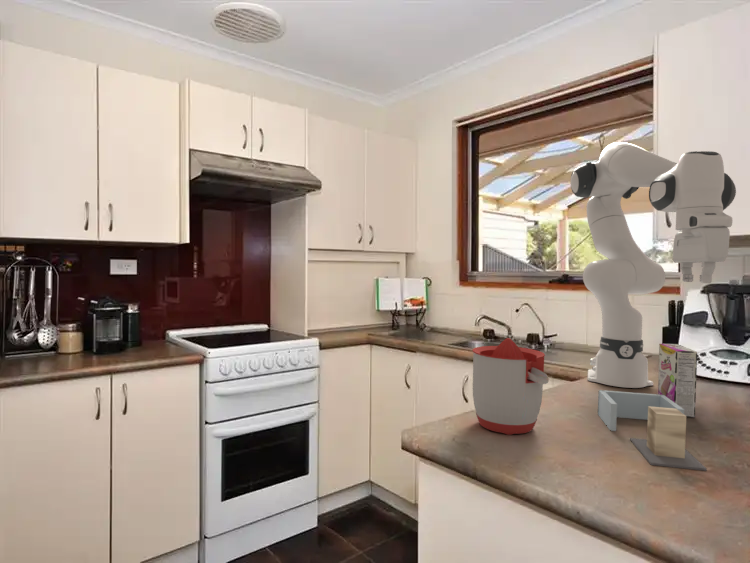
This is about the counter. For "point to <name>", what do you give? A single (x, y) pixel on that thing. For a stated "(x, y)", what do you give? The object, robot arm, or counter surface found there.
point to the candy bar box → (678, 376)
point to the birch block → (666, 432)
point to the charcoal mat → (686, 462)
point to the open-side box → (629, 405)
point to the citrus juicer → (508, 386)
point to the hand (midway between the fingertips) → (696, 282)
